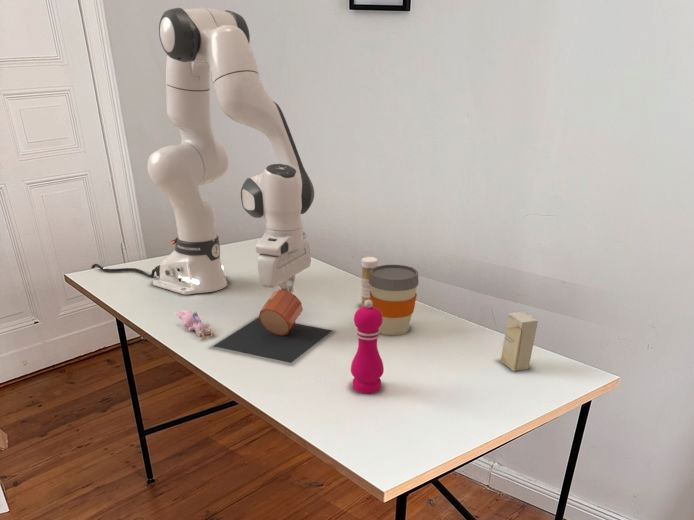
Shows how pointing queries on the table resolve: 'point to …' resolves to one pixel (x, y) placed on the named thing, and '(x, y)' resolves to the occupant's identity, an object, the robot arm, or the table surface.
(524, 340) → the cosmetic box
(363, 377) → the pepper mill
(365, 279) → the spice jar
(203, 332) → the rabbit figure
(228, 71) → the robot arm
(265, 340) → the mat
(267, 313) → the cup
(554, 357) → the table surface
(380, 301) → the reusable coffee cup
